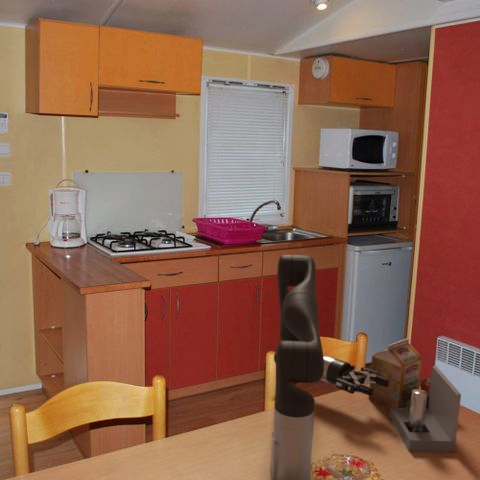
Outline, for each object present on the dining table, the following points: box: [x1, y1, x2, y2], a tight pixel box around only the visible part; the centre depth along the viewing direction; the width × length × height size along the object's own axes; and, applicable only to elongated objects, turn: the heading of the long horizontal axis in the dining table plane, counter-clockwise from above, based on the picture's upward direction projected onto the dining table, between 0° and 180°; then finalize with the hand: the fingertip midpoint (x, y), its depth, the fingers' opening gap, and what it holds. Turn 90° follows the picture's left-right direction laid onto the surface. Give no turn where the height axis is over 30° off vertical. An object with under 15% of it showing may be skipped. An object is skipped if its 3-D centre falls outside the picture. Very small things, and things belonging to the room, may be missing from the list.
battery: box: [420, 378, 431, 409], centre depth 176 cm, size 4×7×10 cm, turn 100°
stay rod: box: [408, 388, 428, 432], centre depth 160 cm, size 4×4×13 cm
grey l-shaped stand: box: [389, 365, 462, 453], centre depth 161 cm, size 12×18×16 cm, turn 1°
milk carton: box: [368, 338, 423, 410], centre depth 181 cm, size 11×11×19 cm
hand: (380, 387), depth 166 cm, fingers open, 8 cm apart
